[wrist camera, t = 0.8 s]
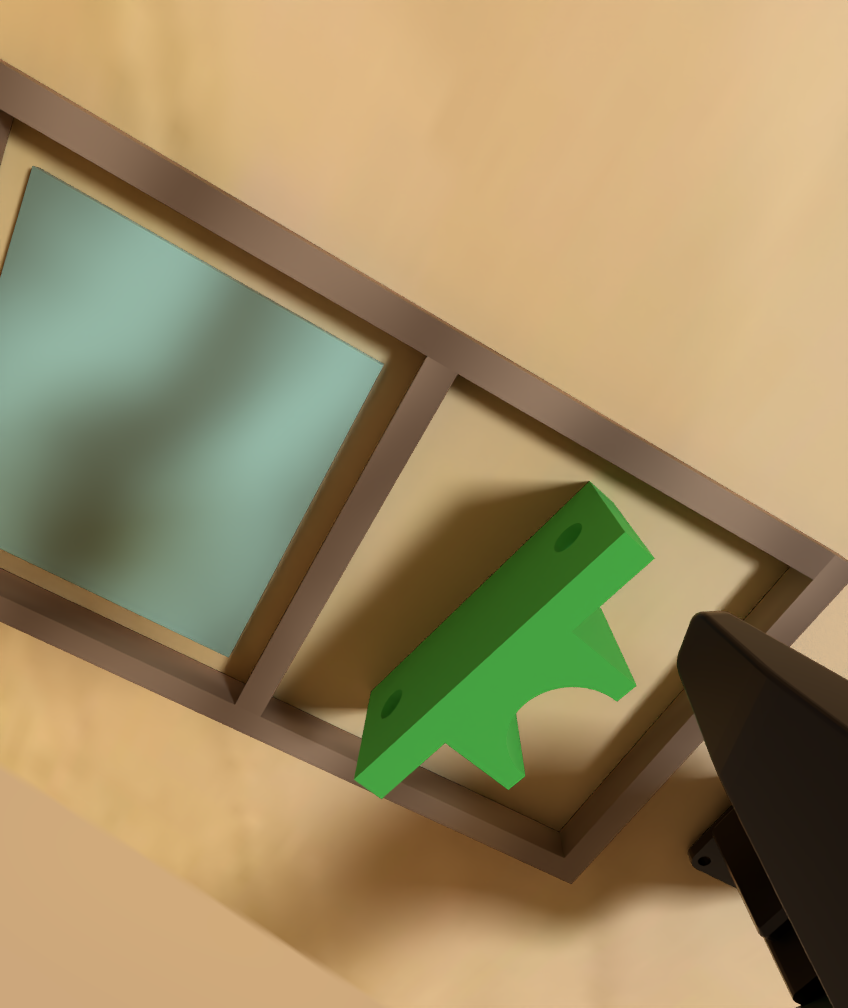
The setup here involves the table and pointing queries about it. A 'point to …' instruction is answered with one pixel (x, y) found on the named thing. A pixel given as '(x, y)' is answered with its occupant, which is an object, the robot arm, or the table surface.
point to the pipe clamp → (508, 650)
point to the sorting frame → (261, 462)
